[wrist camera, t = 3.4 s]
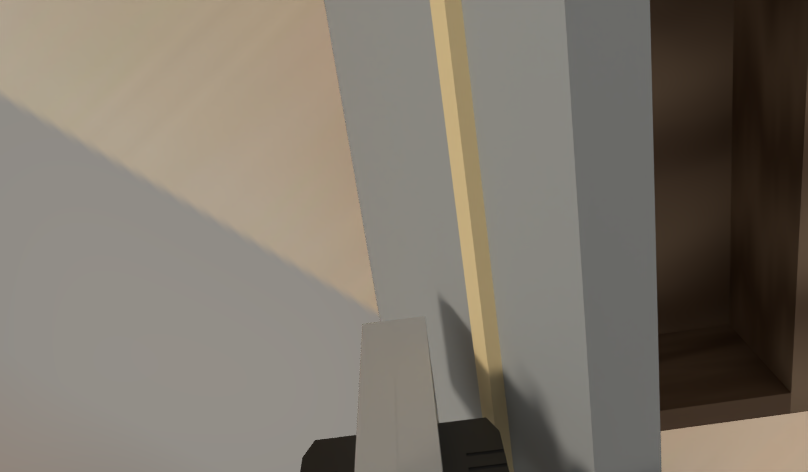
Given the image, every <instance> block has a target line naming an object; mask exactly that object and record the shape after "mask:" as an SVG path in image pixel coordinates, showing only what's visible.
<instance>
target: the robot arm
mask: <svg viewBox="0 0 808 472" xmlns="http://www.w3.org/2000/svg"><path fill="white" fill-rule="evenodd" d="M359 379H360V380H359V397H358V416H357V433H356V435H354V436H345V437H338V438H329V439H321V440H315V441H314V443H313V444H312V445H311V447H310V448H309V450H308V451H307V452H306V454H305V455H304V456H303V458H302V464H301V471H300V472H509V468H508V464H507V460H506V455H505V452H504V447H503V443H502V439H501V434H500V431H499V430H498V429H497V428H496V427H495V426H494V425H493V424H492V423H491V422H490V421H489V420H488V419H487V418H486V417H484V418H476V419H468V420H460V421H452V422H444V423H439V418H438V410H437V403H436V395H435V388H434V380H433V373H432V365H431V358H430V350H429V343H428V335H427V328H426V321H425V316H421V317H413V318H406V319H398V320H390V321H382V322H374V323H366V324H362V342H361V360H360V378H359Z"/></svg>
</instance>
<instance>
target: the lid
mask: <svg viewBox="0 0 808 472" xmlns="http://www.w3.org/2000/svg"><path fill="white" fill-rule="evenodd" d="M324 3H325V9H326V14H327V20H328V26H329V31H330V37H331V43H332V49H333V54H334V60H335V66H336V71H337V77H338V83H339V89H340V94H341V100H342V106H343V111H344V117H345V123H346V129H347V134H348V140H349V146H350V151H351V157H352V163H353V169H354V174H355V180H356V186H357V191H358V197H359V203H360V209H361V214H362V220H363V226H364V231H365V237H366V243H367V249H368V254H369V260H370V266H371V271H372V277H373V283H374V289H375V294H376V300H377V306H378V311H379V317H380V322H382V321H390V320H398V319H406V318H413V317H421V316H425V321H426V328H427V335H428V343H429V350H430V358H431V365H432V373H433V380H434V388H435V395H436V403H437V410H438V418H439V423H444V422H452V421H460V420H468V419H476V418H484V417H486V418H487V419H488V420H489V421H490V422H491V423H492V424H493V425H494V426H495V427H496V428H497V429H498V430H499V431H500V434H501V439H502V443H503V447H504V452H505V455H506V460H507V464H508V468H509V472H661V436H660V395H659V355H658V314H657V273H656V232H655V191H654V150H653V110H652V69H651V28H650V0H324Z"/></svg>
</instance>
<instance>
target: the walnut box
mask: <svg viewBox="0 0 808 472" xmlns="http://www.w3.org/2000/svg"><path fill="white" fill-rule="evenodd" d="M650 28H651V69H652V110H653V150H654V191H655V232H656V273H657V314H658V355H659V395H660V431H664V430H671V429H678V428H686V427H693V426H701V425H708V424H715V423H723V422H730V421H738V420H745V419H752V418H760V417H767V416H774V415H782V414H789V413H797V412H804V411H808V0H650Z"/></svg>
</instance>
